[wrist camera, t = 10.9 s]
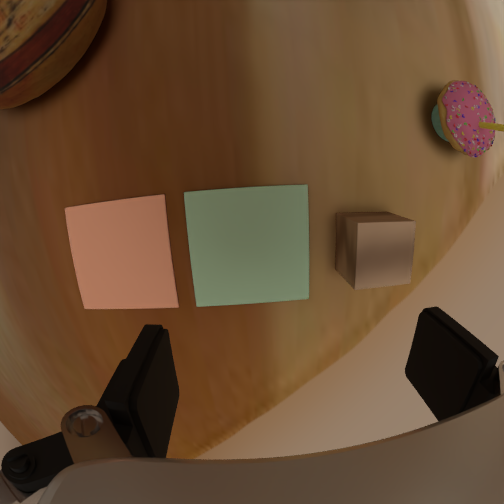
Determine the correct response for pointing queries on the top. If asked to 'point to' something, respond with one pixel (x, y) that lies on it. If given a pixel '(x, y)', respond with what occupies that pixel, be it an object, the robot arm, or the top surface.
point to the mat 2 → (249, 244)
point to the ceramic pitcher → (42, 44)
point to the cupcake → (465, 118)
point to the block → (374, 249)
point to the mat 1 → (123, 253)
